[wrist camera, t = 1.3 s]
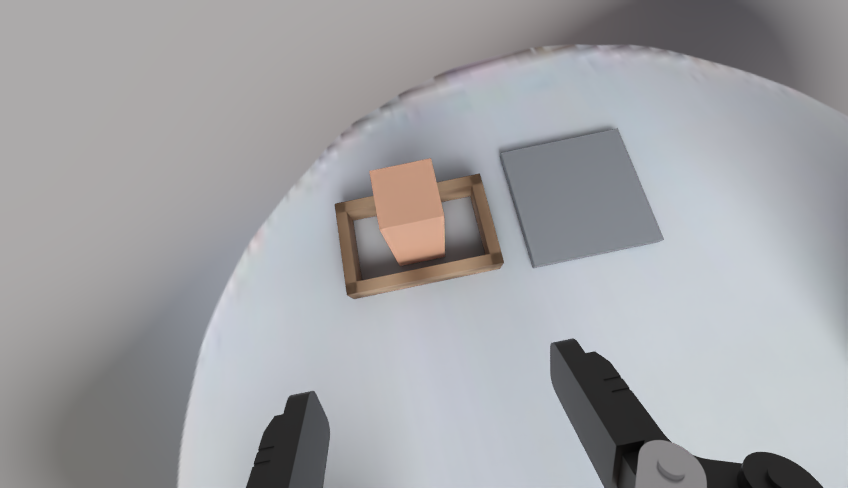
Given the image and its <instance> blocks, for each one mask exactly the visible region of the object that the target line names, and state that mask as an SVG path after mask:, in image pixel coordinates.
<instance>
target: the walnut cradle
mask: <svg viewBox="0 0 848 488" xmlns="http://www.w3.org/2000/svg"><path fill="white" fill-rule="evenodd" d="M437 187H438V191H439V195H440V200H441V202H445V201H449V200H454V199H459V198H464V197H469V196H470V197H471V201H472V205H473V209H474V213H475V217H476V220H477V224H478V228H479V232H480V236H481V240H482V244H483V247H484V251H485V255H482V256H477V257H472V258H468V259H463V260H458V261H453V262H449V263H444V264H439V265H434V266H429V267H425V268H420V269H415V270H410V271H405V272H401V273H396V274H391V275H386V276H381V277H377V278H372V279H367V280H362V277H361V270H360V264H359V257H358V250H357V244H356V237H355V230H354V224H353V221H354V220H358V219H363V218H368V217H373V216H377V213H376V207H375V201H374V196H370V197H365V198H360V199H356V200H351V201H346V202H341V203H337V204H335V211H336V218H337V225H338V233H339V240H340V248H341V255H342V262H343V270H344V277H345V284H346V292H347V295H348V296H349V297H351V298H353V299H357V298H361V297H366V296H371V295H376V294H381V293H385V292H390V291H395V290H400V289H404V288H409V287H414V286H419V285H424V284H428V283H433V282H438V281H443V280H448V279H452V278H457V277H462V276H467V275H472V274H476V273H481V272H486V271H491V270H496V269H500V268H501V266H502V265H503V263H504V260H503V257H502V253H501V249H500V246H499V242H498V238H497V235H496V231H495V227H494V224H493V220H492V216H491V213H490V209H489V205H488V202H487V198H486V194H485V191H484V187H483V183H482V180H481V176H480V174H475V175H471V176H466V177H461V178H456V179H451V180H447V181H442V182H437Z"/></svg>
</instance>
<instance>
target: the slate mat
mask: <svg viewBox="0 0 848 488" xmlns="http://www.w3.org/2000/svg"><path fill="white" fill-rule="evenodd" d="M500 158H501V162H502V165H503V168H504V172H505V175H506V178H507V182H508V185H509V189H510V192H511V195H512V199H513V202H514V205H515V209H516V212H517V216H518V219H519V222H520V226H521V229H522V232H523V236H524V239H525V243H526V246H527V249H528V253H529V256H530V259H531V263H532V266H533V268H536V267H541V266H546V265H551V264H556V263H560V262H565V261H570V260H575V259H579V258H584V257H589V256H594V255H599V254H603V253H608V252H613V251H618V250H623V249H627V248H632V247H637V246H642V245H647V244H651V243H656V242H660V241H662V240H664V238H663V236H662V233H661V231H660V229H659V226H658V224H657V221H656V219H655V217H654V214H653V212H652V209H651V207H650V205H649V202H648V200H647V197H646V195H645V193H644V190H643V188H642V185H641V183H640V181H639V178H638V176H637V174H636V171H635V169H634V166H633V164H632V162H631V159H630V157H629V154H628V152H627V150H626V147H625V145H624V142H623V140H622V138H621V135H620V133H619V130H618V128H617V129H612V130H608V131H603V132H598V133H593V134H589V135H584V136H579V137H574V138H569V139H565V140H560V141H555V142H550V143H546V144H541V145H536V146H531V147H526V148H522V149H517V150H512V151H507V152H502V153H501V155H500Z"/></svg>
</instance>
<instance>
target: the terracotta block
mask: <svg viewBox="0 0 848 488" xmlns="http://www.w3.org/2000/svg"><path fill="white" fill-rule="evenodd" d="M369 172H370V178H371V184H372V189H373V195H374V201H375V207H376V213H377V218H378V224H379V230H380V231H381V233H382V235H383V237H384V239H385V240H386V242H387V244H388V246H389V247H390V249H391V251H392V253H393V255H394V256H395V258H396V260H397V262H398V264H399V265H400V266H404V265H409V264H413V263H418V262H423V261H428V260H433V259H437V258H442V257H445V230H444V212H443V208H442V204H441V200H440V195H439V191H438V187H437V182H436V178H435V174H434V169H433V165H432V161H431V158H430V159H425V160H420V161H415V162H411V163H406V164H401V165H396V166H392V167H387V168H382V169H377V170H372V171H369Z"/></svg>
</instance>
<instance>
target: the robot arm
mask: <svg viewBox="0 0 848 488" xmlns="http://www.w3.org/2000/svg"><path fill="white" fill-rule="evenodd" d="M550 374H551V380H552V384H553V387H554V390H555V392H556V394H557V396H558V398H559V400H560V402H561V404H562V406H563V408H564V410H565V412H566V414H567V416H568V418H569V420H570V422H571V424H572V426H573V427H574V429H575V431H576V433H577V435H578V437H579V439H580V441H581V443H582V445H583V447H584V449H585V451H586V453H587V455H588V457H589V459H590V460H591V462H592V464H593V466H594V468H595V470H596V472H597V474H598V476H599V478H600V480H601V482H602V484H603V486H604V488H823V487H822V486H821V484H820V483H819V482H818V481H817V480H816V479H815V478H814V477H813V476H812V475H811V474H810V473H809V472H807V471H806V470H805V469H803V468H802V467H801V466H799V465H798V464H796V463H794V462H793V461H791V460H789V459H787V458H785V457H782V456H779V455H776V454H773V453H768V452H755V453H752V454H750V455H748V456H747V457H746V458H745V459H744V461H743V464H741V463H733V462H725V461H717V460H709V459H704V458H700V457H697V456H694V455H692V454H691V453H690V452H688V451H687V450H686V449H684V448H683V447H681V446H679V445H677V444H674V443H672V442H671V441H670V440H669V439H668V438H667V437H666V436H665V435H664V434H663V432H662V431H661V430H660V428H659V427H658V425H657V424H656V423H655V421H654V420H653V419H652V417H651V416H650V415H649V413H648V412H647V411H646V409H645V408H644V407H643V405H642V404H641V403H640V401H639V400H638V399H637V397H636V396H635V395H634V393H633V392H632V391H631V390H630V389H629V387H628V385H627V384H626V383H625V381H624V380H623V379H621V376H620V375H619V373H618V372H617V371H616V369H615V368H614V367H613V365H612V364H611V363H610V362H609V361H608V360H606V359H605V358H604V357H602V356H601V355H599V354H598V353H597V352H590V353H585V352H584V350H583V349H582V348H581V346H580V345H579V343H578V342H577V341H576V340H575V339H568V340H564V341H559V342H554V343H551V346H550ZM329 440H330V428H329V422H328V419H327V417H326V415H325V412H324V410H323V408H322V406H321V404H320V402H319V399H318V397H317V395H316V393H315V392H314V391H310V392H305V393H300V394H295V395H291V396H289V398H288V400H287V403H286V407H285V410H284V414H282V415H277V416H274V418H273V419H272V421H271V422H270V424H269V425H268V427H267V428H266V430H265V431H264V433H263V436H262V439H261V442H260V446H259V449H258V450H259V452H258V453H257V455H256V458H255V461H254V467H253V468H252V471H251V474H250V477H249V480H248V483H247V486H246V488H323V483H324V475H325V468H326V461H327V454H328V447H329Z"/></svg>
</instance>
